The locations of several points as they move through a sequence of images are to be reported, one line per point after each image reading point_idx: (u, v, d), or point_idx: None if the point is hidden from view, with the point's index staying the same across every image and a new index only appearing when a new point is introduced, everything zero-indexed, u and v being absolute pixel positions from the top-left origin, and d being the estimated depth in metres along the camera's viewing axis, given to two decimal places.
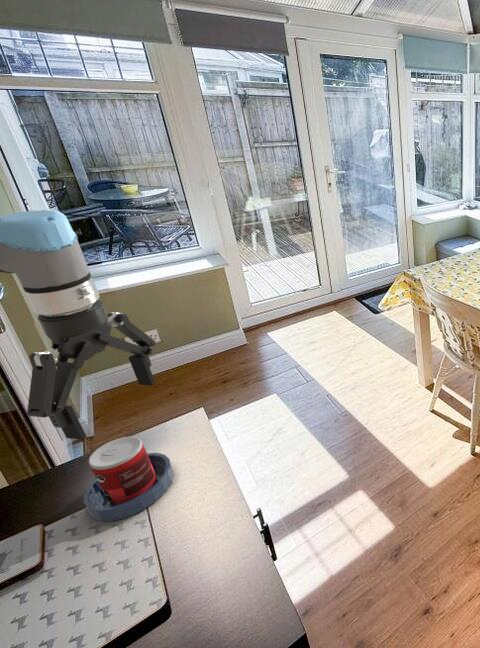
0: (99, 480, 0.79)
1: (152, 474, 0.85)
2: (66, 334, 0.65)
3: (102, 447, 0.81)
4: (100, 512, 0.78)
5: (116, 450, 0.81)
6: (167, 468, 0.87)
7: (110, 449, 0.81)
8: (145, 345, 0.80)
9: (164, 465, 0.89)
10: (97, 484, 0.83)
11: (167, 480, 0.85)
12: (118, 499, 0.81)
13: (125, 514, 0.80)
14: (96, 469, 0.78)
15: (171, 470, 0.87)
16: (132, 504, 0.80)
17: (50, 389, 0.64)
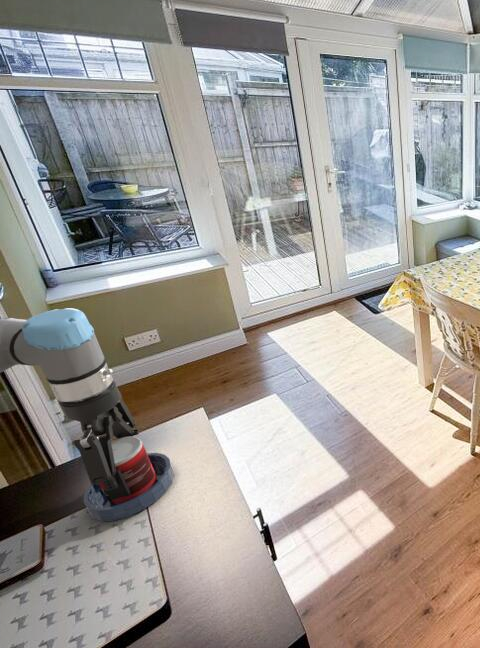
0: None
1: (152, 474, 0.85)
2: (98, 412, 0.74)
3: None
4: (100, 512, 0.78)
5: (116, 449, 0.81)
6: (167, 468, 0.87)
7: None
8: None
9: (164, 465, 0.89)
10: (97, 484, 0.83)
11: (167, 480, 0.85)
12: (118, 499, 0.81)
13: (125, 514, 0.80)
14: None
15: (171, 470, 0.87)
16: (132, 504, 0.80)
17: (104, 459, 0.75)
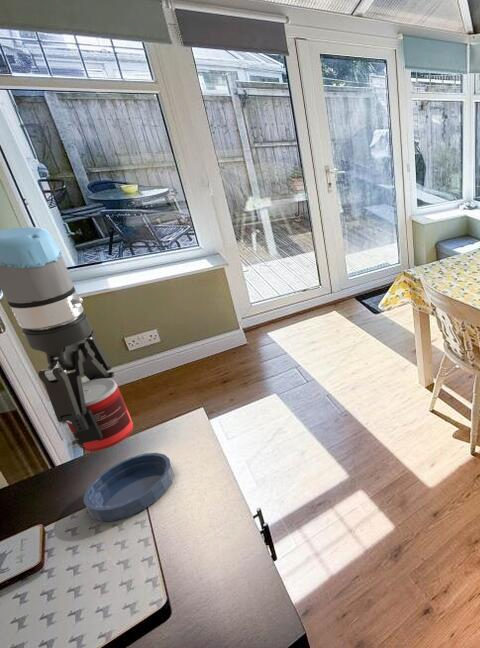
0: (68, 421, 0.73)
1: (128, 419, 0.79)
2: (66, 343, 0.68)
3: None
4: (100, 512, 0.78)
5: (88, 390, 0.75)
6: (167, 468, 0.87)
7: None
8: (103, 368, 0.80)
9: (164, 465, 0.89)
10: (97, 484, 0.83)
11: (167, 480, 0.85)
12: (90, 443, 0.75)
13: (125, 514, 0.80)
14: None
15: (171, 470, 0.87)
16: (132, 504, 0.80)
17: (72, 395, 0.69)
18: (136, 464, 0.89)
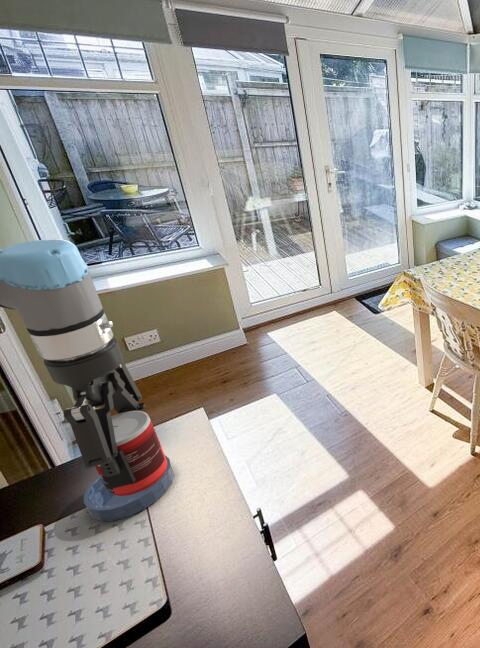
0: None
1: (162, 457, 0.69)
2: (94, 374, 0.58)
3: None
4: (100, 512, 0.78)
5: (117, 426, 0.65)
6: (167, 468, 0.87)
7: None
8: (133, 399, 0.70)
9: None
10: (97, 484, 0.83)
11: (167, 480, 0.85)
12: (121, 487, 0.65)
13: (125, 514, 0.80)
14: None
15: (171, 470, 0.87)
16: (132, 504, 0.80)
17: (102, 436, 0.58)
18: None
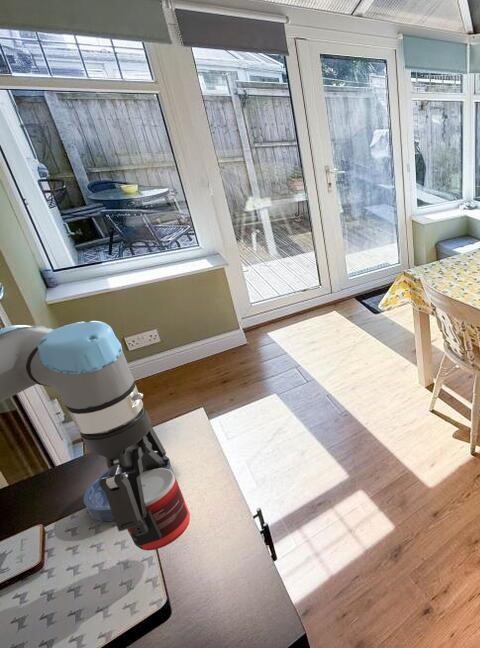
0: None
1: (185, 512, 0.73)
2: (126, 444, 0.62)
3: None
4: (100, 512, 0.78)
5: (145, 485, 0.69)
6: (167, 468, 0.87)
7: None
8: (158, 456, 0.74)
9: None
10: (97, 484, 0.83)
11: None
12: (148, 543, 0.69)
13: None
14: None
15: (171, 470, 0.87)
16: None
17: (134, 501, 0.63)
18: None
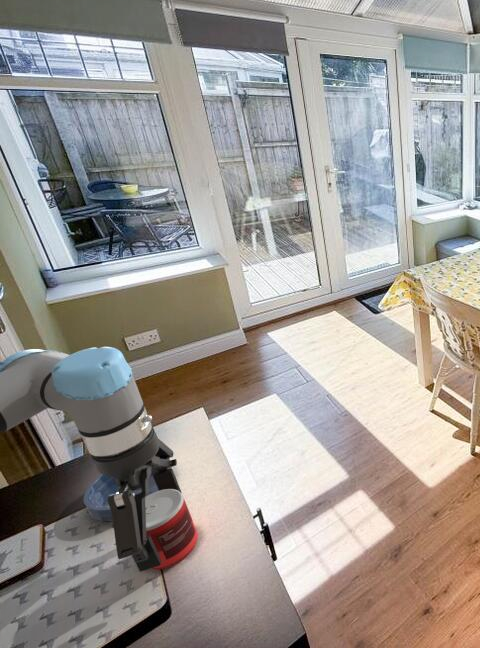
0: None
1: (193, 531, 0.75)
2: (136, 465, 0.64)
3: None
4: (100, 512, 0.78)
5: (154, 506, 0.71)
6: None
7: (148, 505, 0.71)
8: (166, 458, 0.77)
9: None
10: (97, 484, 0.83)
11: None
12: None
13: None
14: None
15: None
16: None
17: (137, 524, 0.63)
18: None
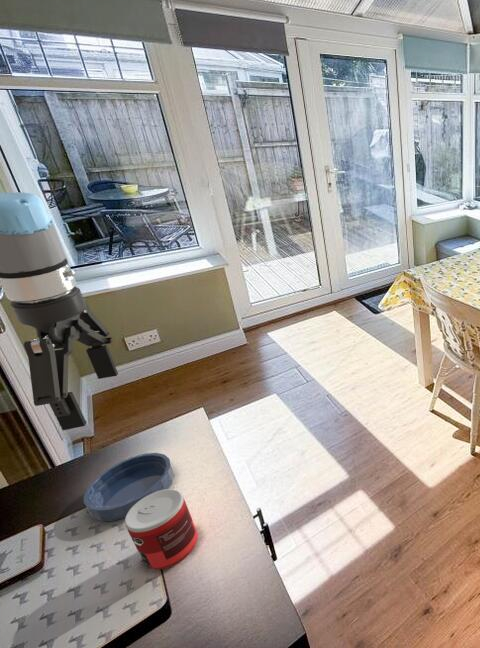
0: (136, 543, 0.69)
1: (193, 531, 0.75)
2: (57, 317, 0.63)
3: (138, 503, 0.72)
4: (100, 512, 0.78)
5: (154, 506, 0.71)
6: (167, 468, 0.87)
7: (148, 505, 0.71)
8: (102, 335, 0.77)
9: (164, 465, 0.89)
10: (97, 484, 0.83)
11: (167, 480, 0.85)
12: (157, 562, 0.71)
13: (125, 514, 0.80)
14: (134, 532, 0.68)
15: (171, 470, 0.87)
16: (132, 504, 0.80)
17: (55, 374, 0.62)
18: (136, 464, 0.89)
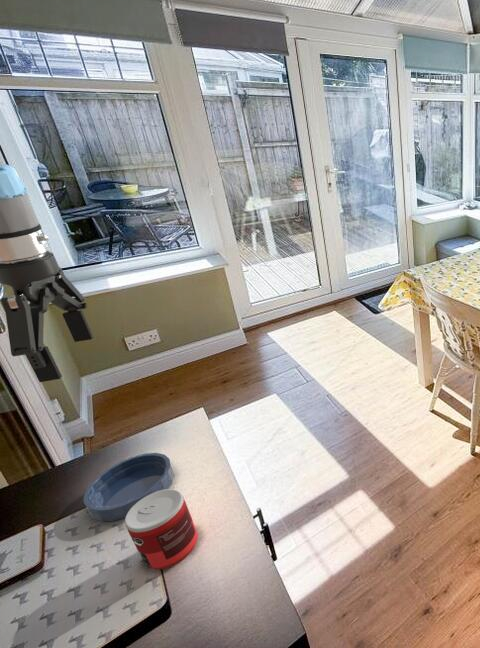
0: (136, 543, 0.69)
1: (193, 531, 0.75)
2: (32, 278, 0.70)
3: (138, 503, 0.72)
4: (100, 512, 0.78)
5: (154, 506, 0.71)
6: (167, 468, 0.87)
7: (148, 505, 0.71)
8: (77, 301, 0.83)
9: (164, 465, 0.89)
10: (97, 484, 0.83)
11: (167, 480, 0.85)
12: (157, 562, 0.71)
13: (125, 514, 0.80)
14: (134, 532, 0.68)
15: (171, 470, 0.87)
16: (132, 504, 0.80)
17: (31, 328, 0.69)
18: (136, 464, 0.89)
